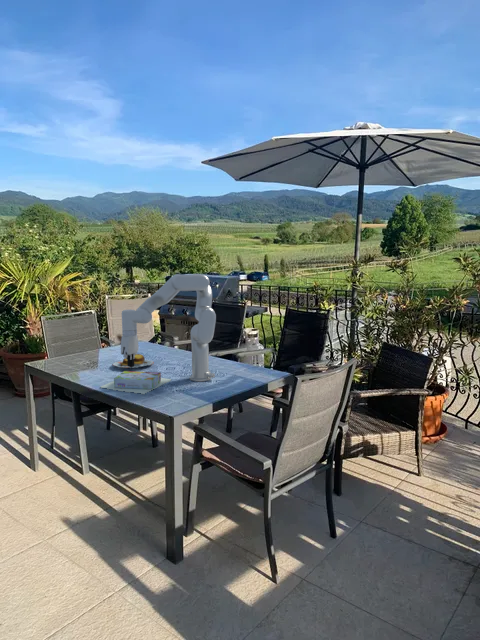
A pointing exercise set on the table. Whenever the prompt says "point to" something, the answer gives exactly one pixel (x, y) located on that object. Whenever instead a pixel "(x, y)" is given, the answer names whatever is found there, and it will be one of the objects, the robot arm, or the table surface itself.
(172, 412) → the table surface
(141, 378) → the snack box
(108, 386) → the mat
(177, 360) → the table surface
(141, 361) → the food on plate
